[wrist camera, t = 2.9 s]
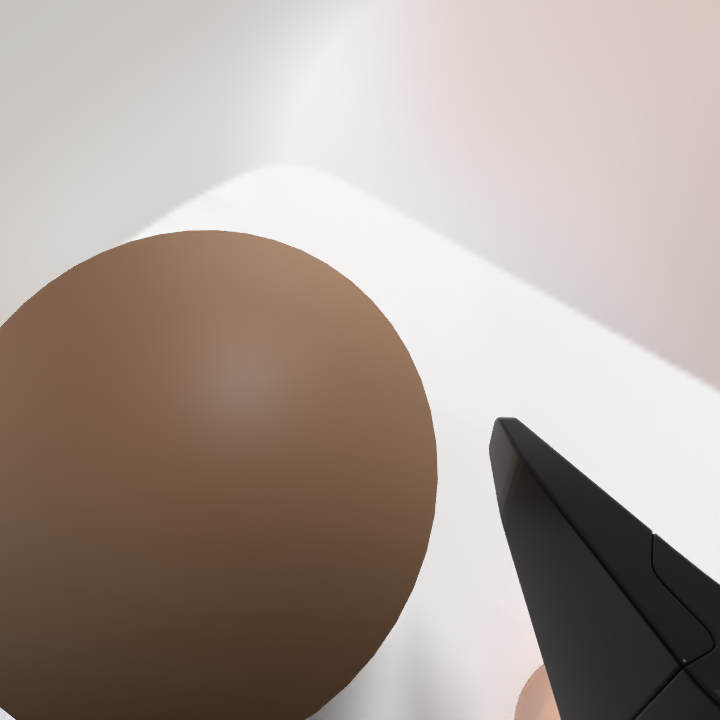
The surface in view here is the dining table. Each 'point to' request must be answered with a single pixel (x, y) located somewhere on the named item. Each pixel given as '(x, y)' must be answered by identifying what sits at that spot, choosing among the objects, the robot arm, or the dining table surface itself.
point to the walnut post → (204, 484)
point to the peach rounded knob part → (537, 699)
